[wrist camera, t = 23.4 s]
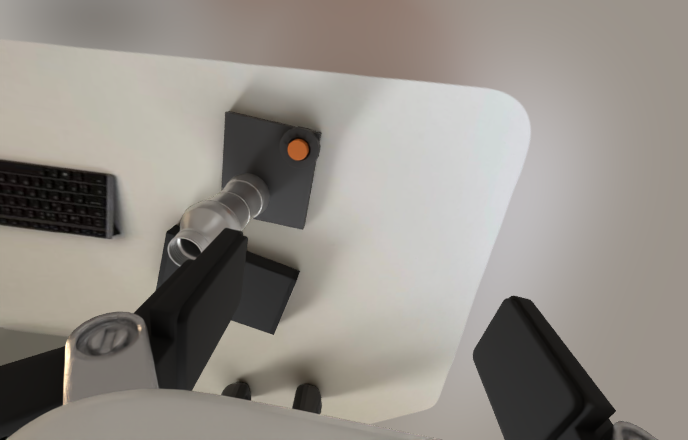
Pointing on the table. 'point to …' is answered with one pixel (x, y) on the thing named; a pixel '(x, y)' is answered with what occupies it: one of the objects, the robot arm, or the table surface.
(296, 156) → the button
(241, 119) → the scale
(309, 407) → the headphones
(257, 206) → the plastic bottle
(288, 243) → the table surface
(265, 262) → the external hard drive
